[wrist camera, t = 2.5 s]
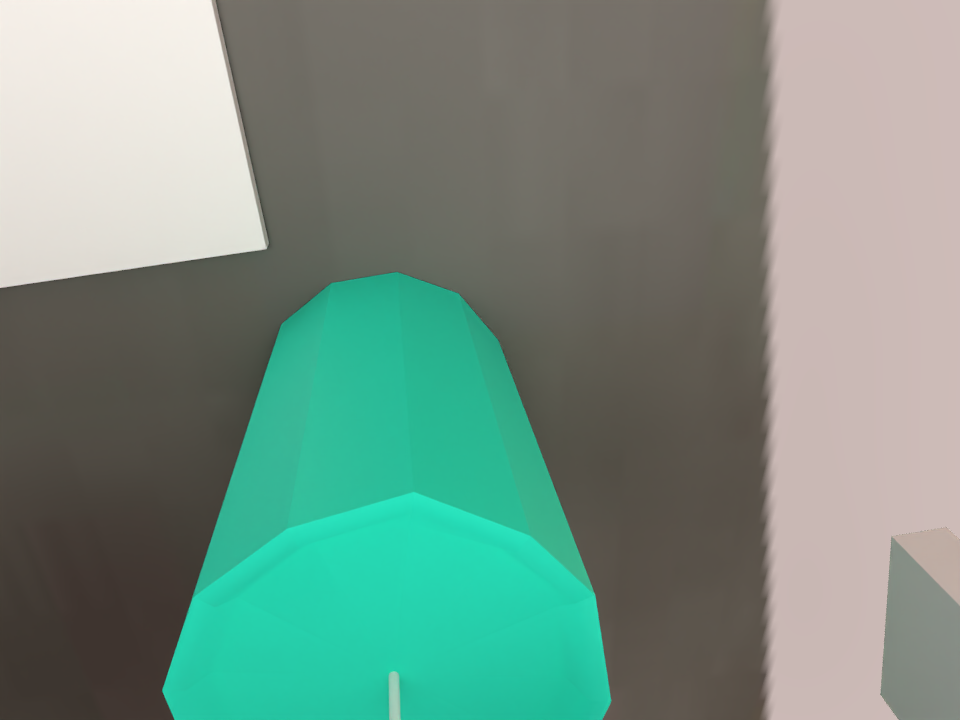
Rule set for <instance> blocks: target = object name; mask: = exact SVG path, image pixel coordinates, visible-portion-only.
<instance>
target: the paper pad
mask: <svg viewBox="0 0 960 720" xmlns="http://www.w3.org/2000/svg"><path fill="white" fill-rule="evenodd" d="M268 245H269V241H268V237H267V232H266V227H265V223H264V218H263V214H262V209H261V205H260V200H259V196H258V191H257V187H256V182H255V177H254V173H253V168H252V164H251V159H250V155H249V150H248V146H247V141H246V137H245V132H244V128H243V123H242V118H241V114H240V109H239V105H238V100H237V96H236V91H235V87H234V82H233V78H232V73H231V69H230V64H229V59H228V55H227V50H226V46H225V41H224V37H223V32H222V28H221V23H220V19H219V14H218V9H217V5H216V0H0V288H2V287H9V286H16V285H23V284H30V283H37V282H44V281H50V280H57V279H64V278H71V277H78V276H85V275H92V274H98V273H105V272H112V271H119V270H126V269H133V268H140V267H147V266H153V265H160V264H167V263H174V262H181V261H188V260H195V259H201V258H208V257H215V256H222V255H229V254H236V253H243V252H249V251H256V250H263V249H267V247H268Z"/></svg>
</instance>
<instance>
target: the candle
mask: <svg viewBox="0 0 960 720" xmlns="http://www.w3.org/2000/svg"><path fill="white" fill-rule="evenodd" d="M162 692H163V694H164V696H165V699H166V701H167V703H168V706H169V708H170V710H171V713H172V715H173V717H174V720H602V719H603V717H604V715H605V713H606V711H607V709H608V707H609V705H610V703H611V696H610V690H609V683H608V676H607V670H606V663H605V657H604V650H603V643H602V637H601V630H600V624H599V617H598V611H597V604H596V597H595V593H594V591H593V588H592V586H591V583H590V580H589V578H588V575H587V572H586V570H585V567H584V564H583V562H582V559H581V557H580V554H579V551H578V549H577V546H576V543H575V541H574V538H573V536H572V533H571V530H570V528H569V525H568V522H567V520H566V517H565V514H564V512H563V509H562V507H561V504H560V501H559V499H558V496H557V493H556V491H555V488H554V486H553V483H552V480H551V478H550V475H549V472H548V470H547V467H546V465H545V462H544V459H543V457H542V454H541V451H540V449H539V446H538V443H537V441H536V438H535V436H534V433H533V430H532V428H531V425H530V422H529V420H528V417H527V415H526V412H525V409H524V407H523V404H522V401H521V399H520V396H519V393H518V391H517V388H516V386H515V383H514V380H513V378H512V375H511V372H510V370H509V367H508V365H507V362H506V359H505V357H504V354H503V351H502V349H501V346H500V344H499V341H498V339H497V338H496V337H495V336H494V335H493V333H492V332H491V331H490V330H489V329H488V327H487V326H486V325H485V324H484V323H483V322H482V320H481V319H480V318H479V317H478V316H477V315H476V313H475V312H474V311H473V310H472V309H471V308H470V306H469V305H468V304H467V303H466V302H465V300H464V299H463V298H462V297H461V296H460V295H459V293H456V292H453V291H450V290H447V289H444V288H441V287H439V286H436V285H433V284H430V283H427V282H424V281H421V280H419V279H416V278H413V277H410V276H407V275H404V274H401V273H399V272H394V273H388V274H382V275H376V276H370V277H364V278H358V279H353V280H347V281H341V282H335V283H331V284H330V285H328V286H327V287H326V288H325V289H323V290H322V291H321V292H320V293H319V294H317V295H316V296H315V297H314V298H313V299H311V300H310V301H309V302H308V303H306V304H305V305H304V306H303V307H302V308H300V309H299V310H298V311H297V312H295V313H294V314H293V315H292V316H291V317H289V318H288V319H287V320H286V321H285V322H283V323H282V324H281V327H280V330H279V333H278V336H277V339H276V342H275V345H274V348H273V351H272V354H271V357H270V360H269V363H268V366H267V369H266V372H265V375H264V378H263V381H262V384H261V387H260V390H259V393H258V396H257V399H256V402H255V405H254V409H253V412H252V415H251V418H250V421H249V424H248V427H247V430H246V433H245V436H244V439H243V443H242V446H241V449H240V452H239V455H238V458H237V461H236V464H235V467H234V470H233V473H232V476H231V480H230V483H229V486H228V489H227V492H226V495H225V498H224V501H223V504H222V507H221V510H220V514H219V517H218V520H217V523H216V526H215V529H214V532H213V535H212V538H211V541H210V544H209V547H208V551H207V554H206V557H205V560H204V563H203V566H202V569H201V572H200V575H199V578H198V581H197V585H196V588H195V591H194V594H193V597H192V600H191V603H190V606H189V609H188V612H187V615H186V618H185V622H184V625H183V628H182V631H181V634H180V637H179V640H178V643H177V646H176V649H175V652H174V656H173V659H172V662H171V665H170V668H169V671H168V674H167V677H166V680H165V683H164V686H163V690H162Z"/></svg>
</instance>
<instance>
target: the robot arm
mask: <svg viewBox="0 0 960 720" xmlns="http://www.w3.org/2000/svg"><path fill="white" fill-rule="evenodd" d="M881 696H882V697H883V699H884V700H885V702H886V703H887V704H888V705H889V707H890V708H891V710H892V711H893V713H894V714H895V715H896V717H897V718H898V719H899V720H960V539H959V538H958V537H957V536H955V535H954V534H953V533H952V532H951V531H950V530H949V529H948V528H947V527H946V528H940V529H934V530H927V531H921V532H915V533H909V534H902V535H896V536H892V538H891V552H890V567H889V581H888V595H887V611H886V624H885V638H884V654H883V667H882V681H881Z"/></svg>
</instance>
